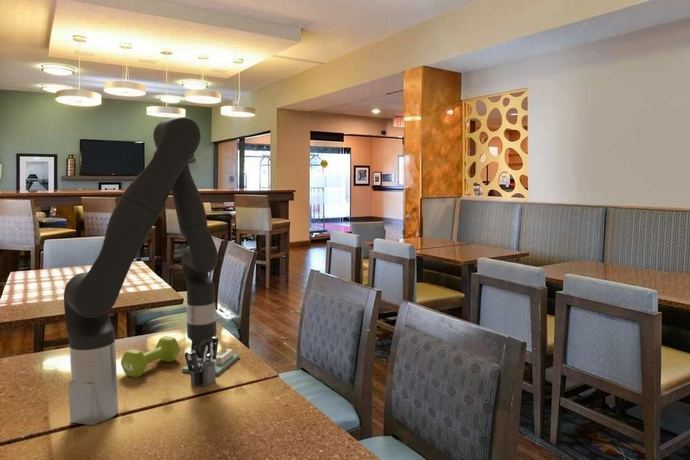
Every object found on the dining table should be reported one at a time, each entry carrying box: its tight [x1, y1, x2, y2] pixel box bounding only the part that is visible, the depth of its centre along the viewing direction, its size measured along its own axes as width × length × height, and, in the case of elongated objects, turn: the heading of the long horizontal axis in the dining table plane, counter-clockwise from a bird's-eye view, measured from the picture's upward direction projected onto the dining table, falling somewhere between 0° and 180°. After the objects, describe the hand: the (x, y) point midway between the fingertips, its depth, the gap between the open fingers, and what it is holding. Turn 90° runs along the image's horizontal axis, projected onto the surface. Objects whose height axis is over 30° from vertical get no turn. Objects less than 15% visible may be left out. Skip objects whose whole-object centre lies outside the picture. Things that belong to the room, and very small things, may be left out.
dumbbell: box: [120, 335, 181, 378], centre depth 140 cm, size 16×8×7 cm, turn 154°
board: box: [181, 348, 241, 377], centre depth 143 cm, size 14×11×3 cm
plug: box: [190, 362, 216, 388], centre depth 130 cm, size 4×6×5 cm
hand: (203, 380), depth 130 cm, fingers closed on plug, 4 cm apart
